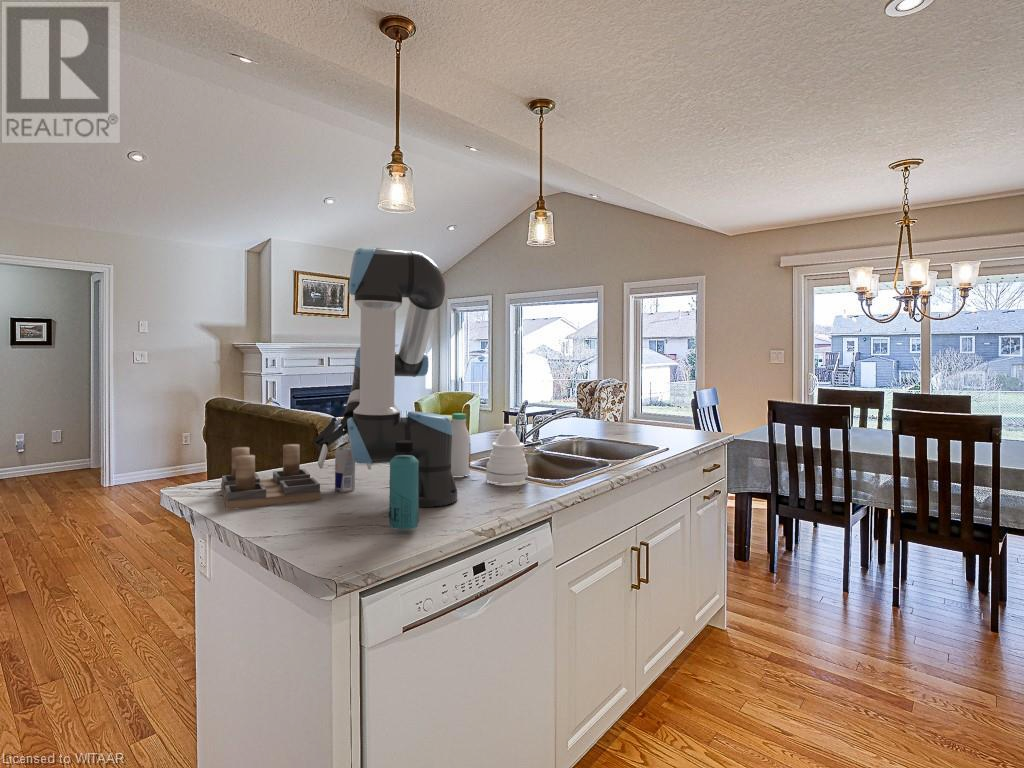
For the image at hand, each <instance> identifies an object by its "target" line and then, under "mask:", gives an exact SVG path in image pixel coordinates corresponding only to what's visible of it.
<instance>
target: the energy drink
mask: <svg viewBox="0 0 1024 768" xmlns="http://www.w3.org/2000/svg"><path fill="white" fill-rule="evenodd" d="M334 459H335V460H334V462H335V463H334V491H336V492H337V491H339V492H338V493H343V492H344V493H349V492H348V491H351V492H354V491H355V490H356V462H355V461H354V460H353V458H352V454H351V449H350V446H337V447H336V448H335V452H334ZM353 490H354V491H353Z"/></svg>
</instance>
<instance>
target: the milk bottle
mask: <svg viewBox="0 0 1024 768" xmlns="http://www.w3.org/2000/svg"><path fill="white" fill-rule="evenodd" d="M466 421H467V414H466V413H463V412H459V413H457V412H456V413H452V414H451V422H452V433H453V435H452V462H451V471H452V475H453V476H465V475H468V474H470V475H471V455H472V454H471V447H472V446H471V445H472V444H471V435H470V433H469V430H468V428H467V424H466V423H467V422H466Z"/></svg>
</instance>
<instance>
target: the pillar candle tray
mask: <svg viewBox="0 0 1024 768" xmlns="http://www.w3.org/2000/svg"><path fill="white" fill-rule="evenodd" d="M300 446H301V444H299V443H288V444H282V470H275V471H272V477H271V478H260V477H259V475H258V473H257V472H256V455H255V454H251V453H250V447H249V446H237V447H232V448H231V474H227V475H225V474H224V475H222V476H221V482H220V490H221V494H223V495H222V497H223V502H224V501H225V502H224V505H225V508H227V509H230V510H236V509H235V508H239V509H247V508H255V507H264V506H273V505H282V504H291V503H292V502H293V503H302V502H308V501H309V500H311V501H318V500H317V499H320V500H322V491H321V484H320V483H319V482H318V480H316V479H315V478H314V477H311V474H310V473H309V472H308V471H307V470H306V469H305V468H300V467H301V466H300V460H301V459H300V457H301V456H300V453H301V449H300ZM301 501H302V502H301ZM309 502H310V501H309ZM227 509H226V510H227Z"/></svg>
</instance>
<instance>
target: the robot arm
mask: <svg viewBox="0 0 1024 768" xmlns="http://www.w3.org/2000/svg"><path fill="white" fill-rule="evenodd" d="M351 263H352V264H351V268H350V274H349V280H348V294H349V295H351V296H354V303H355V304H356V305H357V307H358V308H359V309H360V331H359V332H360V337H359V338H360V339H359V343H360V344H359V347H358V348H357V350H356V352H355V357H354V369H353V376H352V385H351V390H350V392H349V396H348V398H347V403H346V407H345V410H344V415H343V417H342V419H337V418H336V417H332V418H331V420H330V422H329V424H328V425H327V426H326V427H324V429H323V430H322V431H321V432H320V433H319V434H318V436H317V437H315V439H314V440H313V441H314V444H315V447H317V448H318V450H317V456H318V459H317V460H318V461H317V466H318V468H319V469H321V470H323V468H324V465H325V462H326V457H327V454H328V450H329V449H328V448H329V446H330V445H332V444H334V443H335V442H336V441H337V440H338V439H340V438H342V437H344V436H345V435H347V434H348V441H349V443H348V444H349V447H350V449H351V454H352V458H353V460H354V461H355V464H361V465H366V466H367V470H372V466H373V465H374V464H390V461H391V460H392V459H393V458H394V457H395V456H398V455H412V456H414V457H415V458H416V459H417V460H418V461H419V464H418V489H419V490H418V505H419V507H418V508H435V507H434V506H439V507H443V506H442V505H445V506H448V505H447V504H450V503H452V504H454V503H453V502H455V501H456V500H457V501H458V495H459V494H458V492H459V491H458V489H457V486H456V483H455V479H454V478H455V477H453V475H452V471H451V462H452V435H453V433H452V424H453V421H452V419H450V418H449V417H448V416H446V415H443V414H438V413H432V412H424V411H410V410H409V411H408V413H407V415H406V417H401V410H400V409H399V407H397V406H396V405H395V404H396V403H395V382H396V381H395V377H412V378H415V377H425V376H427V374H428V372H429V356H428V354H427V353H426V349H427V347H428V346H427V345H428V342H429V339H430V336H431V332H432V329H433V324H434V321H435V317H436V314H437V310H438V309H439V308H440V307H441V306H443V303H444V300H445V299H444V298H445V295H446V284H445V282H446V281H445V279H444V276H443V274H442V272H441V270H440V268H439V266H438V265H437V263H435V262H434V260H433V259H432V258H430V257H429V256H428V255H426V254H424V253H422V252H419V251H413V250H410V251H409V250H401V249H390V248H382V247H375V246H373V247H358V248H356V250H355V252H354V253H353V256H352V261H351ZM403 298H408V300H409V305H408V308H407V314H406V319H405V323H404V328H403V332H402V337H401V343H400V345H399V351H396V322H397V321H396V313H397V310H398V309H399V308H400V307H401V306H402V305H403ZM336 428H337V429H336ZM401 440H408V441H413V444H414V451H411V452H397V451H395V442H396V441H401ZM457 501H456V502H457ZM456 502H455V503H456ZM450 505H451V504H450Z"/></svg>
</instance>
